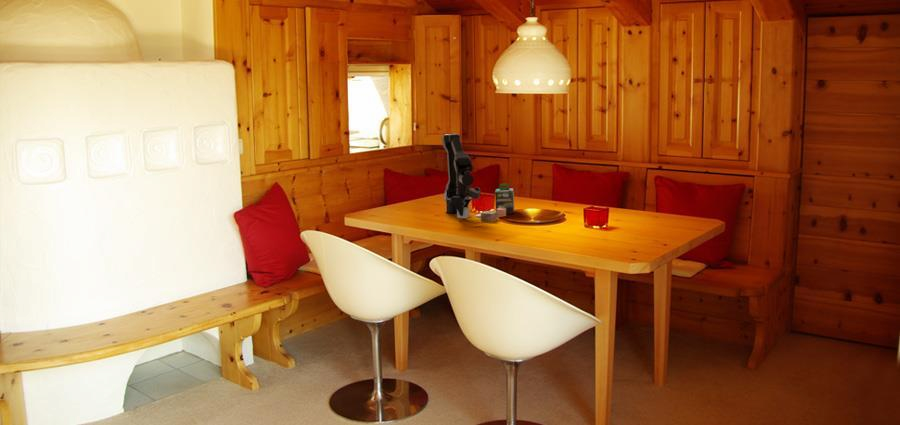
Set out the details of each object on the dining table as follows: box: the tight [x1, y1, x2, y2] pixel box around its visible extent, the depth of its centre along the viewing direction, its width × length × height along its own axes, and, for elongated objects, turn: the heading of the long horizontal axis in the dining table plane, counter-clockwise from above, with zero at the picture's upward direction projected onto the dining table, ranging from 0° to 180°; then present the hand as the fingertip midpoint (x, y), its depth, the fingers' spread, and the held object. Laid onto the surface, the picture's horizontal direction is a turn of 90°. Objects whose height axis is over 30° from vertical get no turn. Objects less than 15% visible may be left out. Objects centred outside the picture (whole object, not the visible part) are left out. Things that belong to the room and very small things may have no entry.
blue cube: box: [456, 206, 470, 219], centre depth 423 cm, size 4×4×4 cm
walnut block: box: [480, 210, 498, 223], centre depth 421 cm, size 6×6×4 cm
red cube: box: [497, 208, 507, 218], centre depth 429 cm, size 4×4×4 cm
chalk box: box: [494, 183, 515, 213], centre depth 439 cm, size 9×9×15 cm
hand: (463, 214), depth 423 cm, fingers closed on blue cube, 4 cm apart
